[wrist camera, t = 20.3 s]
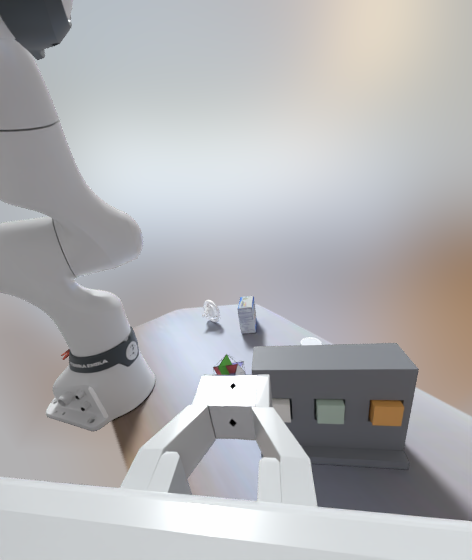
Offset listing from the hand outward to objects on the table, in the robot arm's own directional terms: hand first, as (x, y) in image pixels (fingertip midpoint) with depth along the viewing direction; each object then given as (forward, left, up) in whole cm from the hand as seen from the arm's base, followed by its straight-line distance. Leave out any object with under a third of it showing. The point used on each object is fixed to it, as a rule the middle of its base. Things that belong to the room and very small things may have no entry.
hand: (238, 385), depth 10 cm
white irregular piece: (-20, +55, -30) cm, 66 cm away
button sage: (+8, +17, -23) cm, 29 cm away
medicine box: (-7, +52, -30) cm, 61 cm away
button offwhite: (+1, +17, -23) cm, 28 cm away
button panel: (+8, +19, -30) cm, 36 cm away
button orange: (+15, +17, -23) cm, 32 cm away
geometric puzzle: (-9, +29, -30) cm, 43 cm away
